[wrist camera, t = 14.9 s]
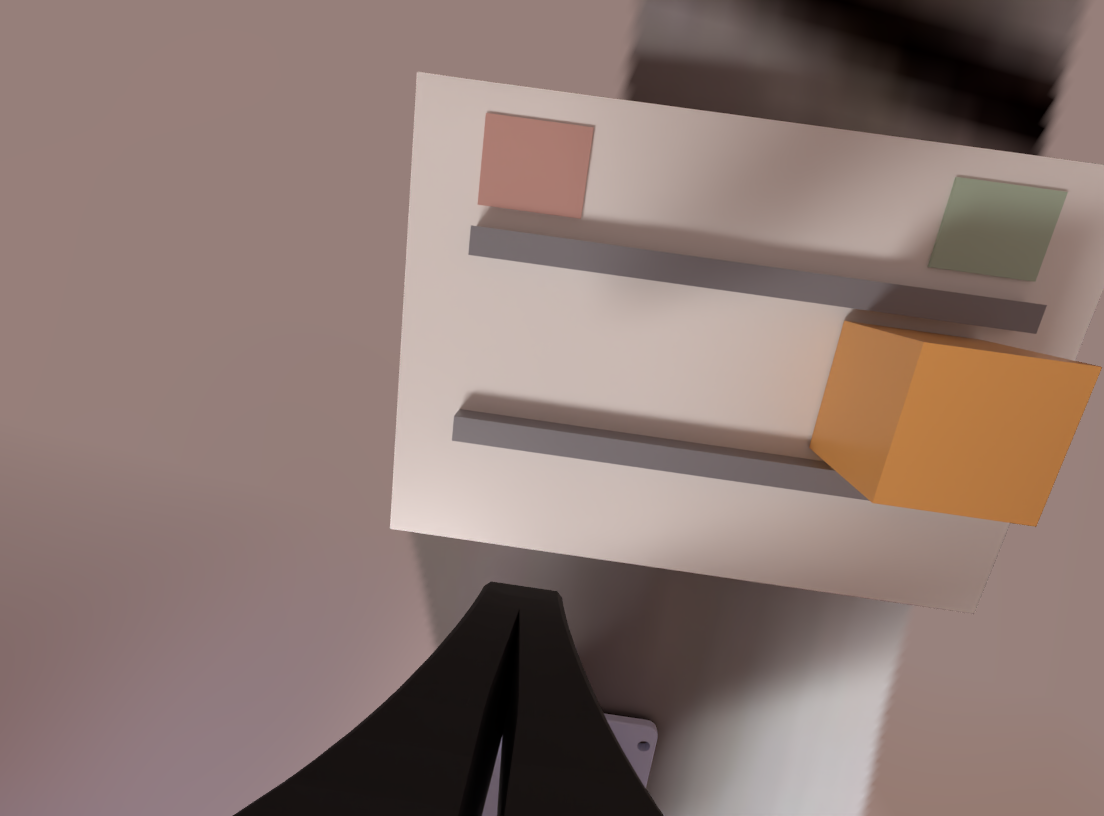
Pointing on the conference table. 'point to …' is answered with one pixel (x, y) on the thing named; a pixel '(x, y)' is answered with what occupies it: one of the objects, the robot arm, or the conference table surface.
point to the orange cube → (949, 421)
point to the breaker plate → (702, 327)
